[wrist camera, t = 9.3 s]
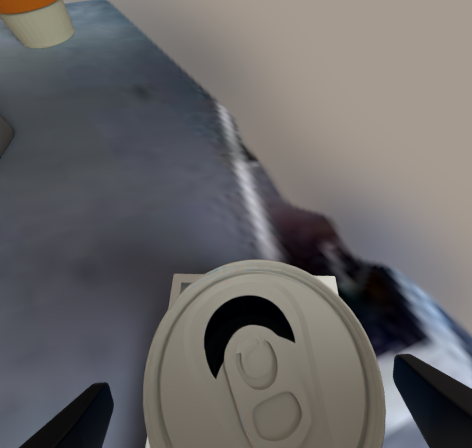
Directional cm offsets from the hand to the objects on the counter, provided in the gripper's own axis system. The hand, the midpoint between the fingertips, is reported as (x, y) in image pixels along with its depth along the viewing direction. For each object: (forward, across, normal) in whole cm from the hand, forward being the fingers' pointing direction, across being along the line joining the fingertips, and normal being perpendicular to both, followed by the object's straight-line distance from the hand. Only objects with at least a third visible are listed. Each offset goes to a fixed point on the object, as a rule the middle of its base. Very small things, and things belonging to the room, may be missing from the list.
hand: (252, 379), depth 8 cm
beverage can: (+7, 0, +7) cm, 10 cm away
